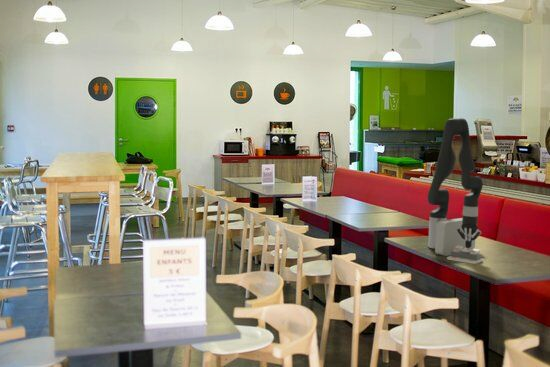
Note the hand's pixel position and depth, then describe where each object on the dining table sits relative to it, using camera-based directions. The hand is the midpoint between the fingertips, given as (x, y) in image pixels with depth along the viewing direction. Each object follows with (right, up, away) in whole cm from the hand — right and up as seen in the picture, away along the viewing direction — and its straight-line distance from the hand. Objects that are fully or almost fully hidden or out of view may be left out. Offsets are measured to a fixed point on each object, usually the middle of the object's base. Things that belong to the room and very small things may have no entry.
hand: (468, 247), depth 347 cm
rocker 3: (+2, -1, -4) cm, 5 cm away
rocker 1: (-5, -1, +1) cm, 5 cm away
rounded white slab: (-2, -4, +17) cm, 17 cm away
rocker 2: (-1, -1, -2) cm, 2 cm away
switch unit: (-2, -6, -2) cm, 7 cm away
